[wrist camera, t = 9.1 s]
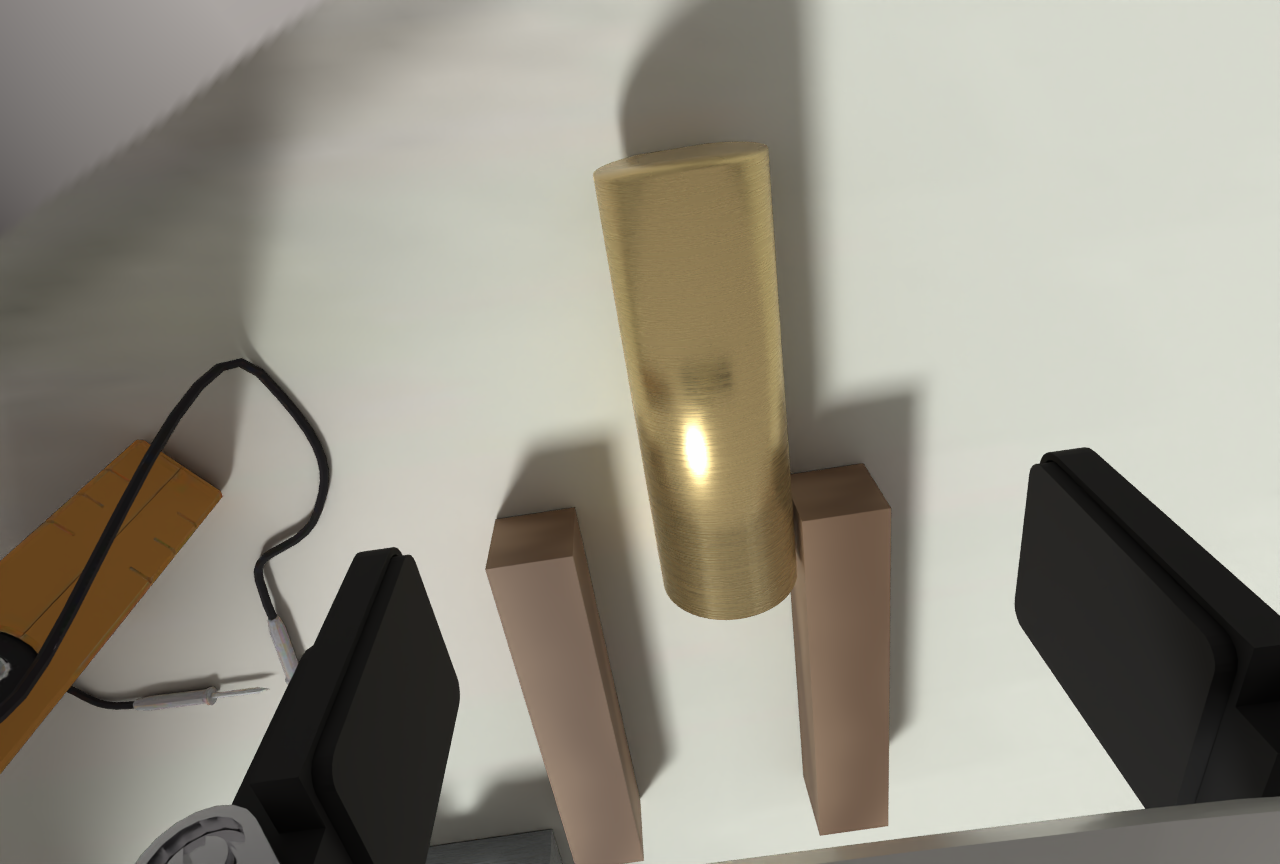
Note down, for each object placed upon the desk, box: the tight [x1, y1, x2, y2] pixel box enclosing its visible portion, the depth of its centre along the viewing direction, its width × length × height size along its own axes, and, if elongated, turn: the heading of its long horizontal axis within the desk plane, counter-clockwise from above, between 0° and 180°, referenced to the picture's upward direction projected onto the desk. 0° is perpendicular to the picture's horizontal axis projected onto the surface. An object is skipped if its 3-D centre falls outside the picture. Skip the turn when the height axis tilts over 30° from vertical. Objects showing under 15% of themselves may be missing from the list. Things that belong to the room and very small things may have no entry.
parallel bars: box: [485, 463, 891, 864], centre depth 26 cm, size 12×14×2 cm
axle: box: [593, 142, 797, 620], centre depth 20 cm, size 12×4×4 cm
